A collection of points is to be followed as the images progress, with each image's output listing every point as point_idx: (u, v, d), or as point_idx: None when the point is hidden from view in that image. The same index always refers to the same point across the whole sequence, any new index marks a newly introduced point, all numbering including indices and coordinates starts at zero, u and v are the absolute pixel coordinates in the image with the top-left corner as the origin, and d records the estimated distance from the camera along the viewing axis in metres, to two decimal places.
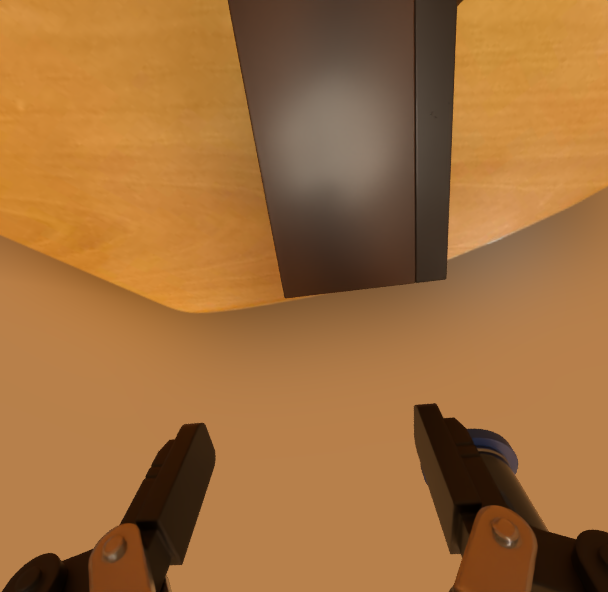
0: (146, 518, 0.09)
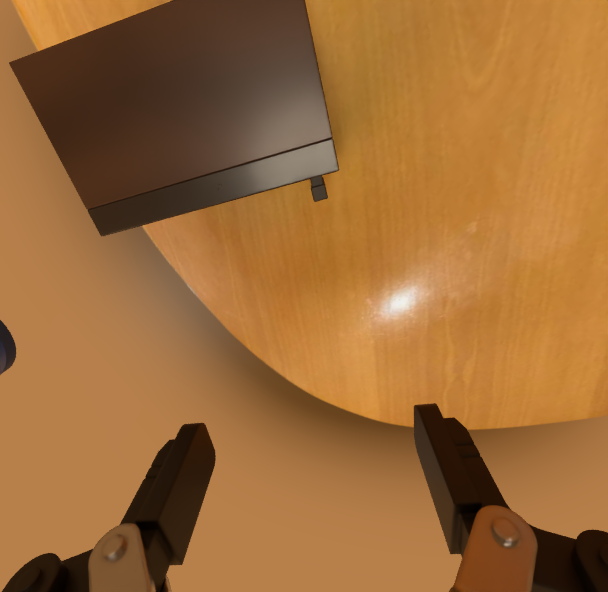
0: (146, 518, 0.09)
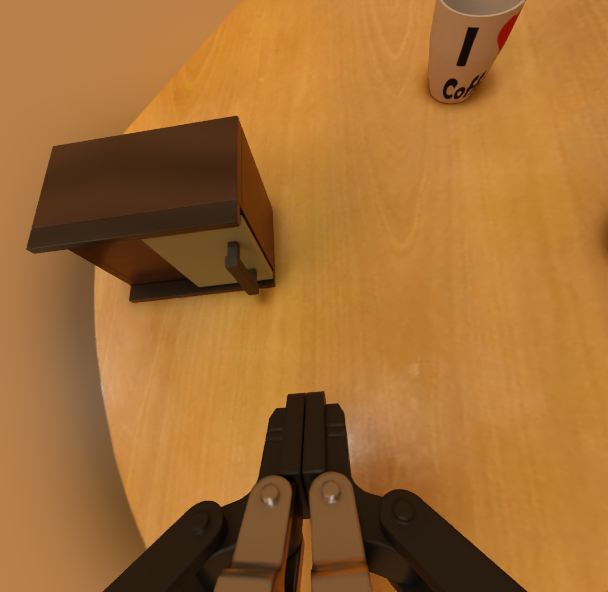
0: (287, 471, 0.10)
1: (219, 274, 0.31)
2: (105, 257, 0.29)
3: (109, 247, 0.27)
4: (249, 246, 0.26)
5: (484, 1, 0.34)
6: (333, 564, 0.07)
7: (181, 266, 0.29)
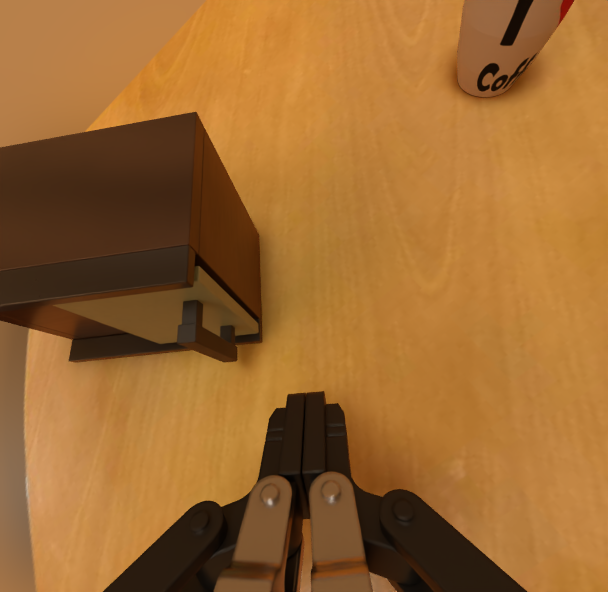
0: (287, 471, 0.10)
1: None
2: (18, 315, 0.20)
3: None
4: (217, 304, 0.18)
5: None
6: (333, 564, 0.07)
7: (125, 327, 0.20)
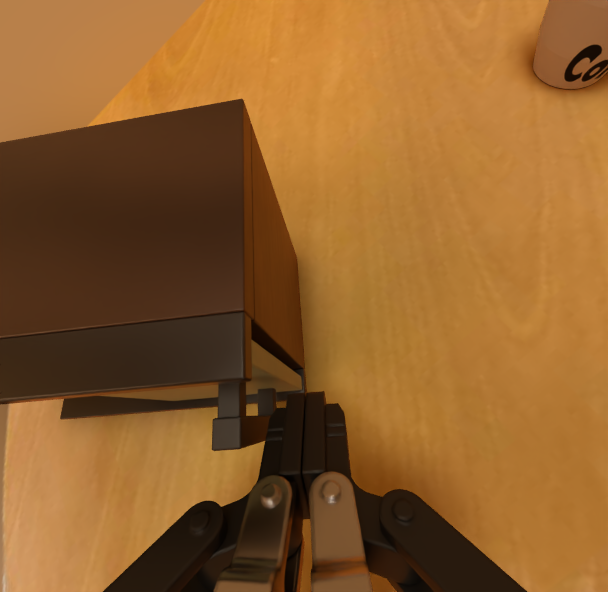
0: (287, 471, 0.10)
1: (207, 394, 0.17)
2: None
3: None
4: (266, 378, 0.12)
5: None
6: (333, 564, 0.07)
7: (131, 395, 0.15)
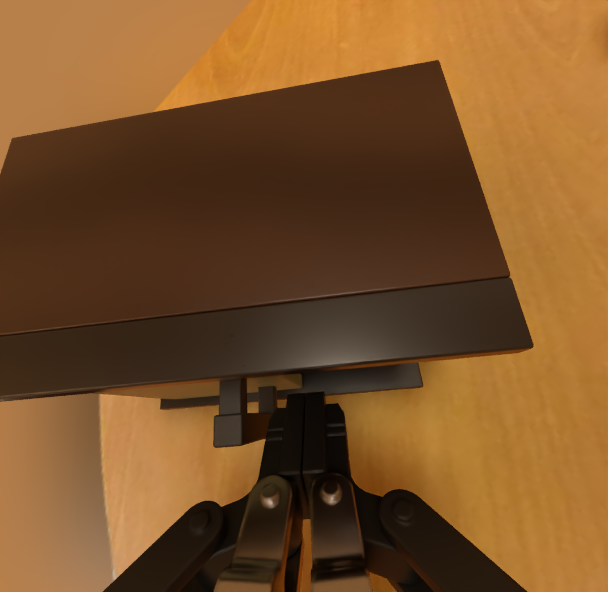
0: (287, 471, 0.10)
1: (208, 392, 0.17)
2: None
3: None
4: None
5: None
6: (333, 564, 0.07)
7: (132, 394, 0.15)
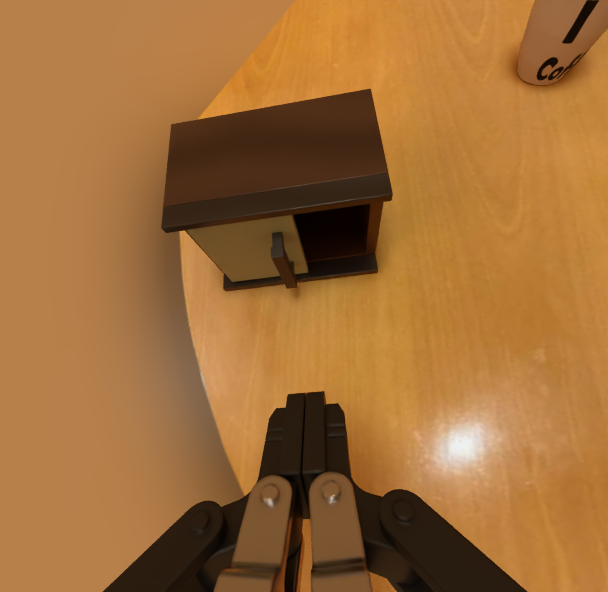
0: (287, 471, 0.10)
1: (256, 268, 0.30)
2: None
3: None
4: (292, 237, 0.26)
5: None
6: (333, 564, 0.07)
7: (220, 259, 0.28)
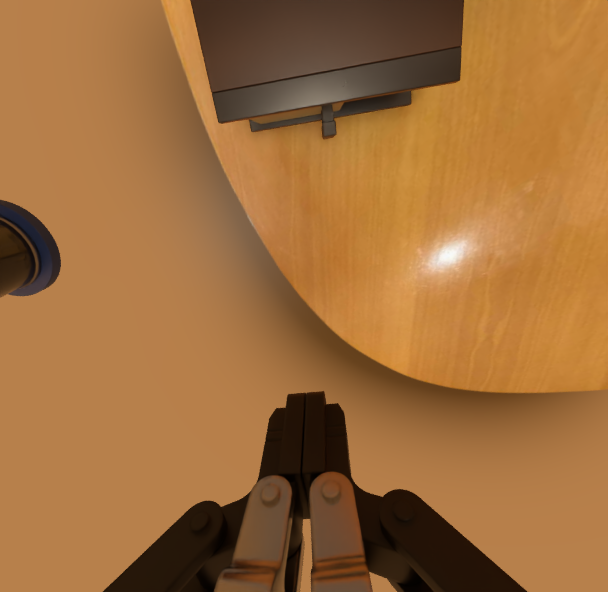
0: (287, 471, 0.10)
1: (290, 116, 0.29)
2: None
3: None
4: None
5: None
6: (333, 564, 0.07)
7: (258, 118, 0.27)
